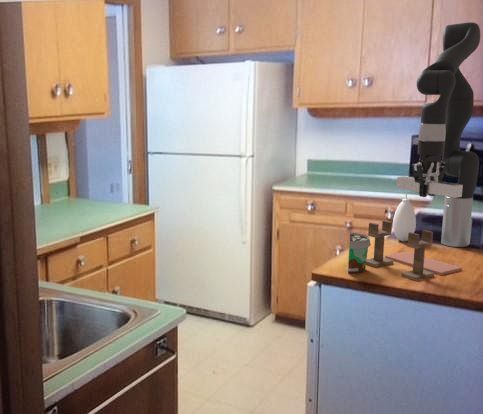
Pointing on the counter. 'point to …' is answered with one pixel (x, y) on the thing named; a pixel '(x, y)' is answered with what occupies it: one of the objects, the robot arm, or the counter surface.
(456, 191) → the steel rail
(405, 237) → the sauce bottle
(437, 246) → the counter surface
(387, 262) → the cradle stands
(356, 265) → the food container
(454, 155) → the robot arm
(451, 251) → the counter surface
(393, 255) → the rust mat
